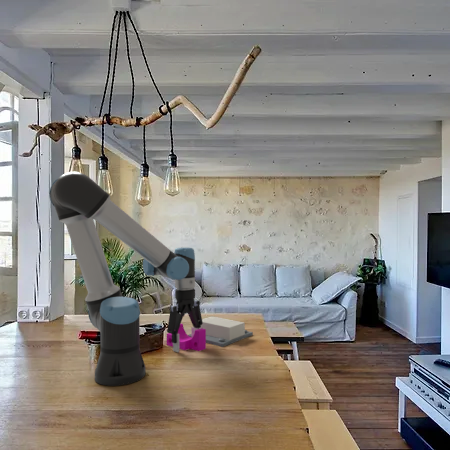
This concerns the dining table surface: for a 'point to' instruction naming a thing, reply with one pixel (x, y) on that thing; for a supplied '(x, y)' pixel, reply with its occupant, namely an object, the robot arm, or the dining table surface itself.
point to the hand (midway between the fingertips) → (185, 347)
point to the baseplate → (223, 331)
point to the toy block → (189, 339)
